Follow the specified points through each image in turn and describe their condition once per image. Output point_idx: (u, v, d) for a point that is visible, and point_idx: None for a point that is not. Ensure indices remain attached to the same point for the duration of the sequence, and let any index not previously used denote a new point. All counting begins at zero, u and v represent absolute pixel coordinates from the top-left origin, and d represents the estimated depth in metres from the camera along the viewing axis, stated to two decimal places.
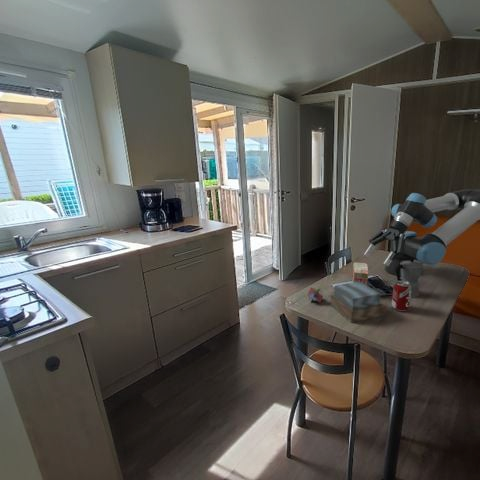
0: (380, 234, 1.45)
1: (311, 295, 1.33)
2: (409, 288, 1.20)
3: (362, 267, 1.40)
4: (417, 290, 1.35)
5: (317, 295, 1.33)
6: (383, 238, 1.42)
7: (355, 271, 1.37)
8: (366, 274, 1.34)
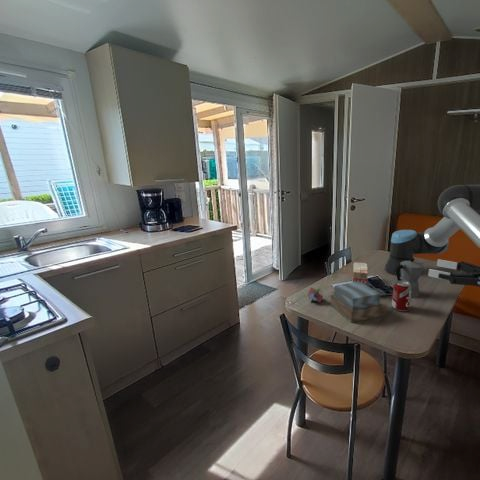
0: None
1: (311, 295, 1.33)
2: (409, 288, 1.20)
3: (362, 267, 1.41)
4: (417, 290, 1.35)
5: (317, 295, 1.33)
6: None
7: (354, 271, 1.37)
8: (365, 274, 1.34)
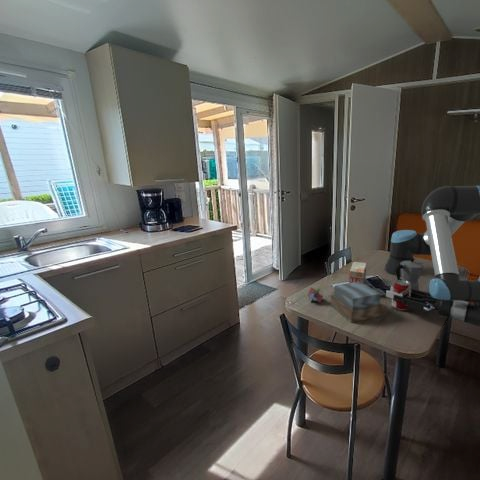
0: None
1: (311, 295, 1.33)
2: (409, 287, 1.21)
3: (359, 266, 1.42)
4: None
5: (317, 295, 1.33)
6: None
7: (351, 270, 1.38)
8: (361, 273, 1.35)
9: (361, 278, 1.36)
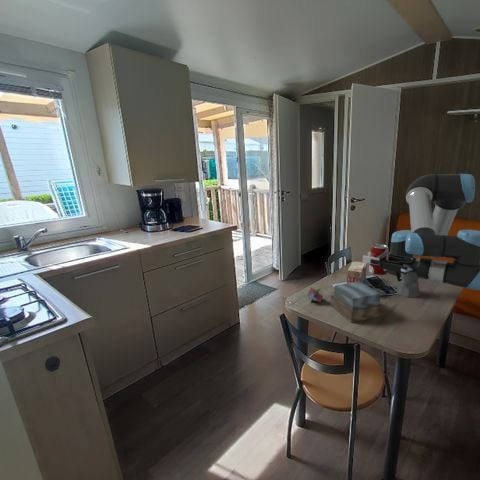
0: None
1: (311, 295, 1.33)
2: (386, 250, 1.13)
3: (358, 266, 1.42)
4: (417, 290, 1.35)
5: (317, 295, 1.33)
6: None
7: (349, 269, 1.39)
8: (359, 272, 1.36)
9: (359, 277, 1.37)
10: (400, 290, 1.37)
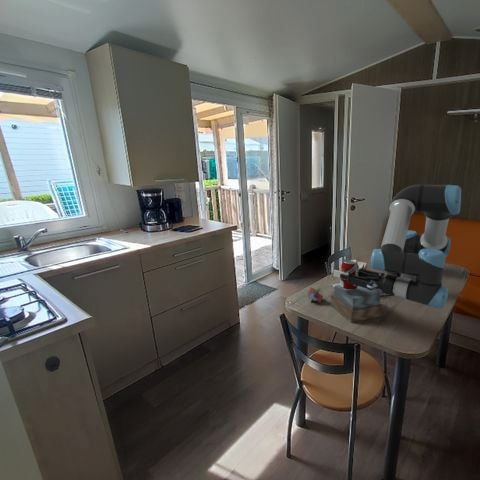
0: None
1: (311, 295, 1.33)
2: (355, 266, 1.16)
3: None
4: None
5: (317, 295, 1.33)
6: None
7: None
8: None
9: None
10: None
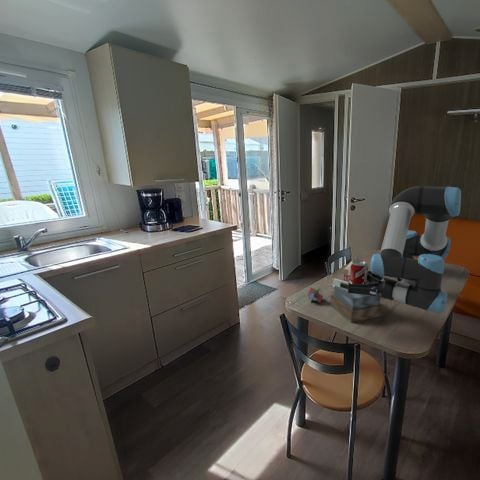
0: None
1: (311, 295, 1.33)
2: (365, 268, 1.17)
3: None
4: None
5: (317, 295, 1.33)
6: None
7: (346, 268, 1.41)
8: None
9: None
10: None
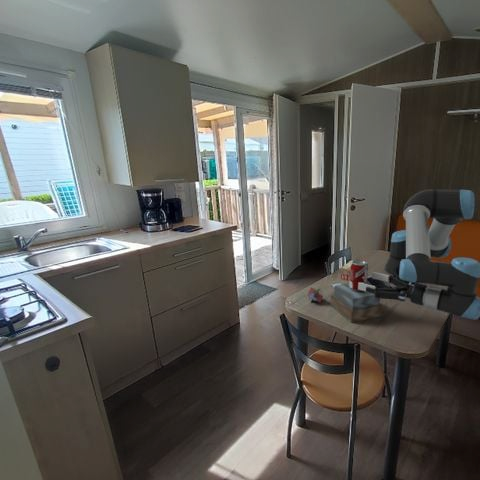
0: None
1: (311, 295, 1.33)
2: (365, 267, 1.18)
3: None
4: None
5: (317, 295, 1.33)
6: None
7: (343, 267, 1.42)
8: None
9: None
10: None
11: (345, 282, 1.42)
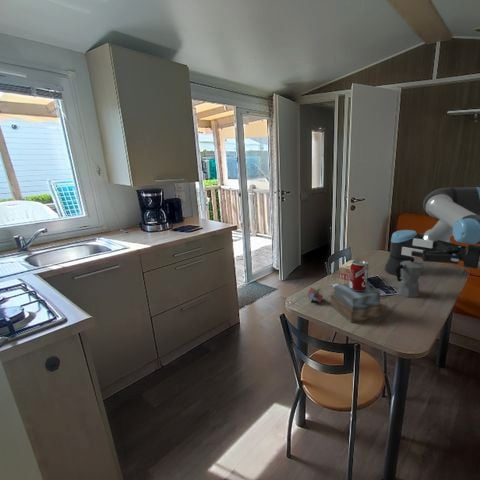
0: None
1: (311, 295, 1.33)
2: (365, 267, 1.18)
3: None
4: (417, 290, 1.35)
5: (317, 295, 1.33)
6: None
7: (341, 266, 1.44)
8: (349, 270, 1.40)
9: (349, 275, 1.40)
10: (400, 290, 1.37)
11: (342, 281, 1.44)
